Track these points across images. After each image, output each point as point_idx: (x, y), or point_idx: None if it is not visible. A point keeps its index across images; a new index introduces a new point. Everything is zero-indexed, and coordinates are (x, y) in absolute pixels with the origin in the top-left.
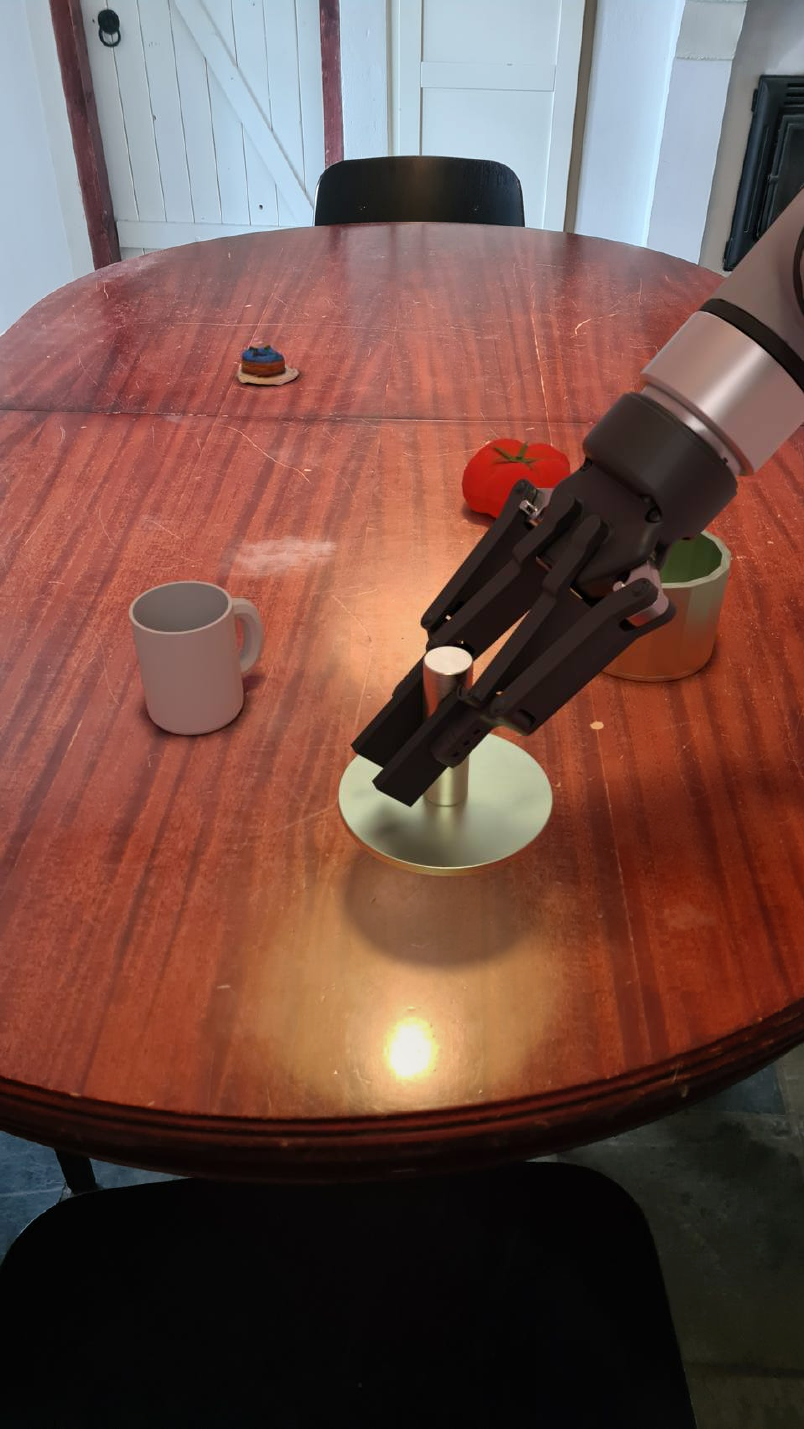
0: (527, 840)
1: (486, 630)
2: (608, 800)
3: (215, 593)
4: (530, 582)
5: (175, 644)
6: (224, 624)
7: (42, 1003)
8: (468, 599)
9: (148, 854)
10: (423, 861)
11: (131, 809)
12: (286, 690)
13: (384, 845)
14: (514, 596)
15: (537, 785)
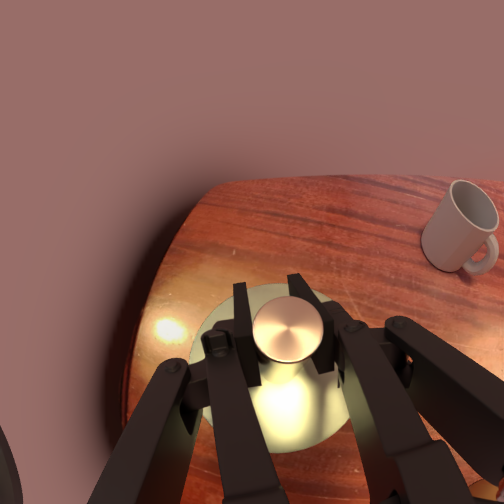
0: (203, 411)
1: (351, 397)
2: (331, 498)
3: (494, 226)
4: (378, 472)
5: (447, 202)
6: (469, 227)
7: (246, 188)
8: (417, 375)
9: (331, 223)
10: (204, 329)
11: (364, 216)
12: (461, 297)
13: (227, 306)
14: (369, 441)
15: (268, 442)
